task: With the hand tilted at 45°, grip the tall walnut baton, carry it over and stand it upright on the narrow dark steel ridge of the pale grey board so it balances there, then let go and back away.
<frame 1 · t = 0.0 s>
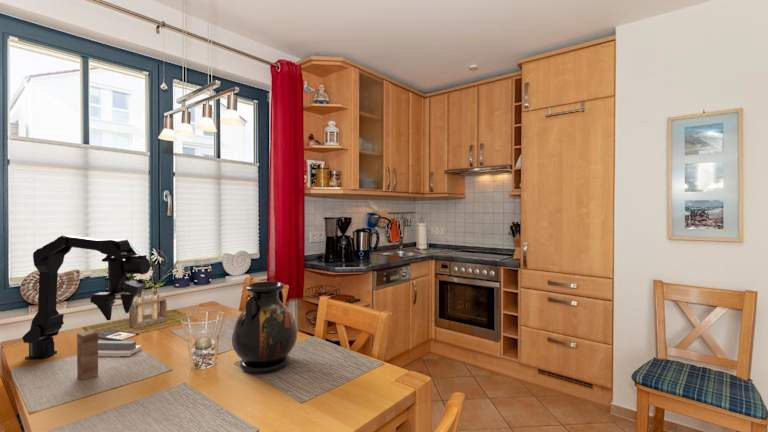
hand: (118, 316, 136), 15 cm above the table, tool pointing down, fingers open, 9 cm apart
walnut baton: (87, 376, 120), on the table
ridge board: (111, 352, 139), on the table
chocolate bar: (113, 337, 158), on the table
amphora vase: (265, 365, 129), on the table
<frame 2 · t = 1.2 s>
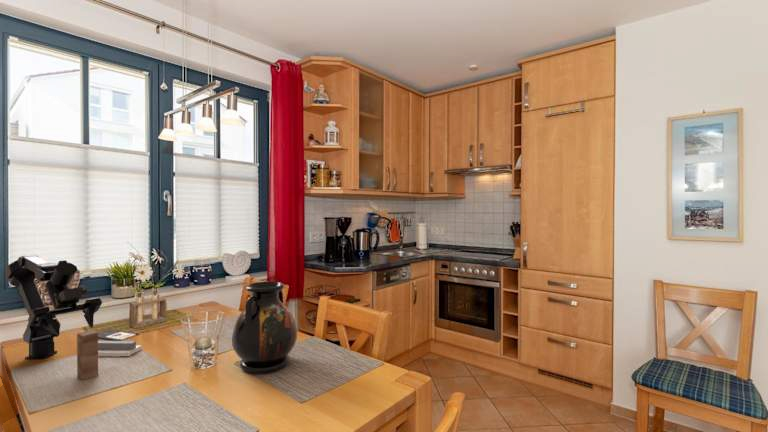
hand: (75, 330, 123), 13 cm above the table, tool tilted 45°, fingers open, 9 cm apart
nothing on the table moved.
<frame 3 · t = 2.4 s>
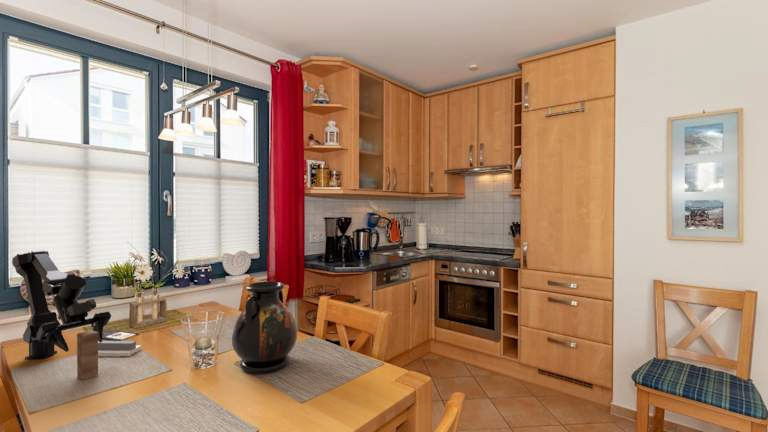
hand: (85, 346, 120), 9 cm above the table, tool tilted 45°, fingers open, 9 cm apart
nothing on the table moved.
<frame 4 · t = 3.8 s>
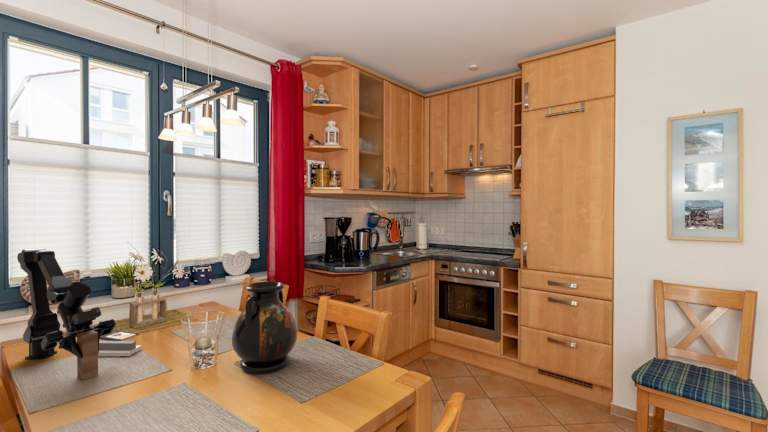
hand: (89, 355, 119), 7 cm above the table, tool tilted 45°, fingers closed on walnut baton, 4 cm apart
walnut baton: (87, 376, 120), on the table, touching gripper
everything else where it was.
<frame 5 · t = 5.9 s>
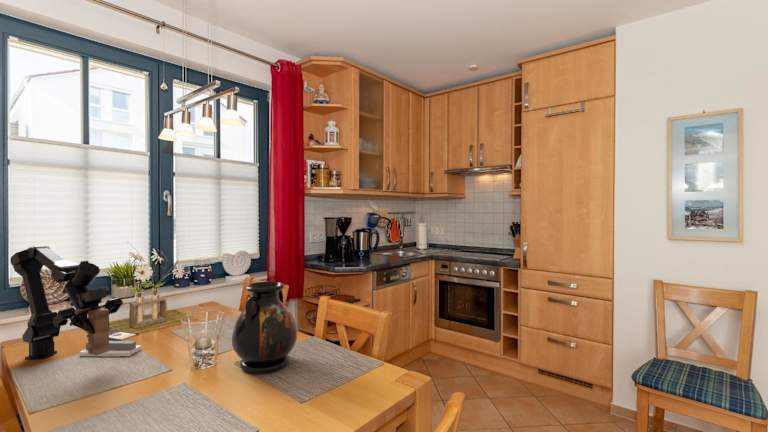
hand: (101, 331, 123), 13 cm above the table, tool tilted 45°, fingers closed on walnut baton, 4 cm apart
walnut baton: (98, 352, 124), point 6 cm above the table, touching gripper
everything else where it was.
when the fingers open (12 cm above the table, at t = 7.9 s): walnut baton stays where it is, resting on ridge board.
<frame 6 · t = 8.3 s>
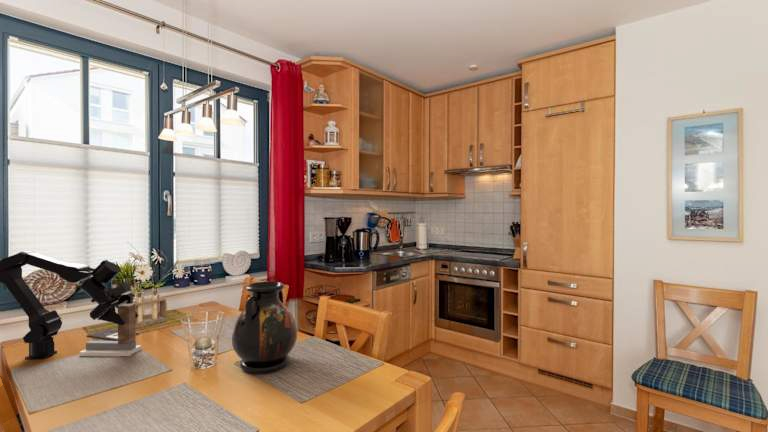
hand: (130, 320, 139), 12 cm above the table, tool tilted 45°, fingers open, 8 cm apart
walnut baton: (126, 342, 139), point 4 cm above the table, touching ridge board
everything else where it was.
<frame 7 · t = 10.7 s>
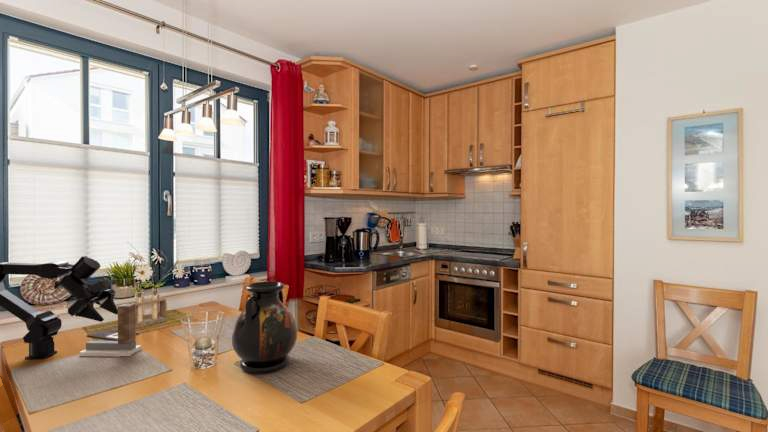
hand: (110, 317, 138), 14 cm above the table, tool tilted 45°, fingers open, 9 cm apart
nothing on the table moved.
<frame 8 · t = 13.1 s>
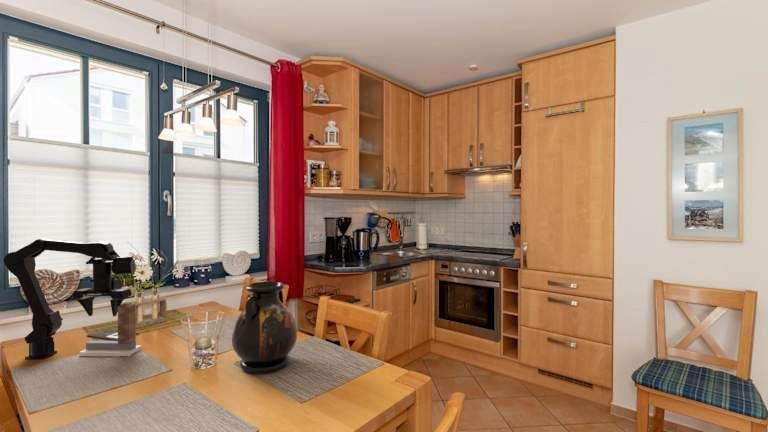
hand: (102, 316, 142), 13 cm above the table, tool pointing down, fingers open, 9 cm apart
nothing on the table moved.
at the end: walnut baton 0.1 cm from the target spot on the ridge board, point 4.0 cm above the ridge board's base; walnut baton tilted 0°; the gripper is holding nothing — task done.
